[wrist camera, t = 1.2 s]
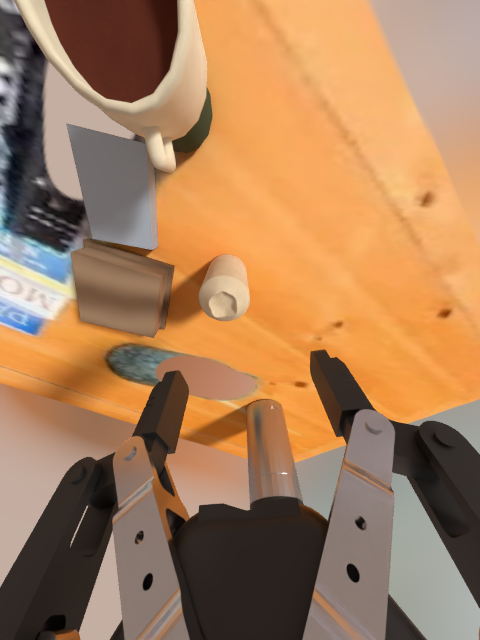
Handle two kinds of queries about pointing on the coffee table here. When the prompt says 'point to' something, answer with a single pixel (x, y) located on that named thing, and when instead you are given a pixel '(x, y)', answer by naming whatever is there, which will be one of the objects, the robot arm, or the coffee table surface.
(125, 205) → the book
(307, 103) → the coffee table surface
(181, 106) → the character mug
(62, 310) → the coffee table surface
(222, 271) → the candle
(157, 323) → the stand
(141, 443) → the robot arm
